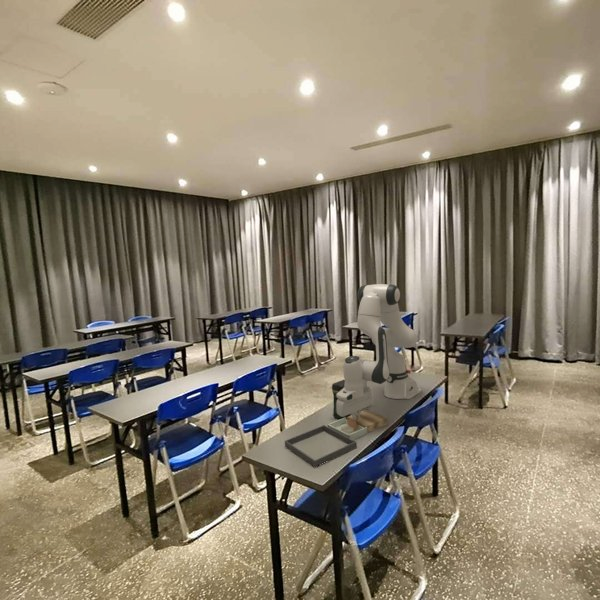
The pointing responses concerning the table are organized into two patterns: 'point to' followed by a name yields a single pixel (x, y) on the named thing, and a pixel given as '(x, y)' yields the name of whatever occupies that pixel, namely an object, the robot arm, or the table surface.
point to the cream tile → (347, 429)
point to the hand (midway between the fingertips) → (356, 419)
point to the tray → (354, 435)
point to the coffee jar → (336, 388)
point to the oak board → (369, 420)
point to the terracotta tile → (352, 424)
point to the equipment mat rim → (327, 457)
